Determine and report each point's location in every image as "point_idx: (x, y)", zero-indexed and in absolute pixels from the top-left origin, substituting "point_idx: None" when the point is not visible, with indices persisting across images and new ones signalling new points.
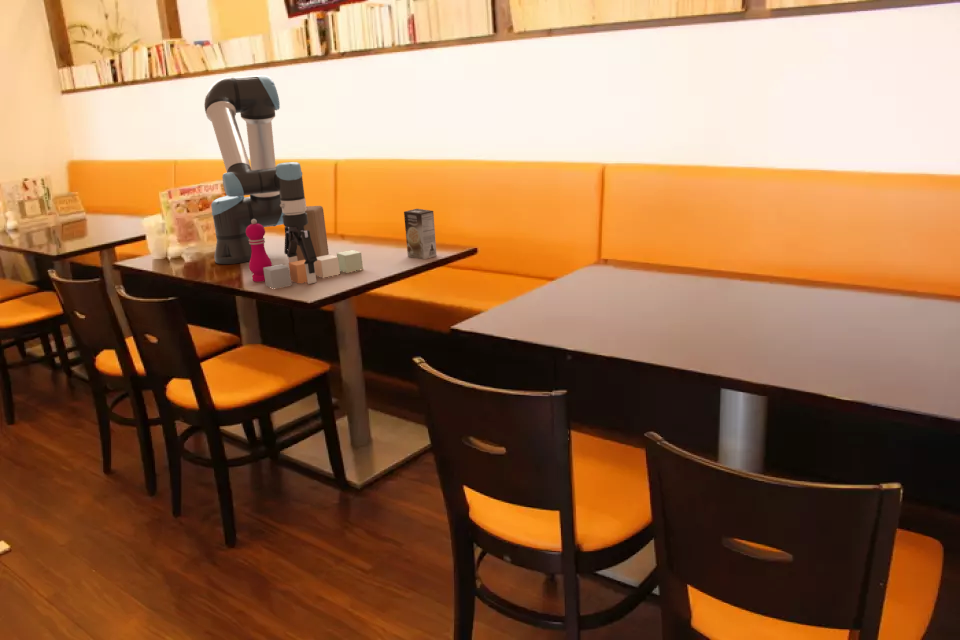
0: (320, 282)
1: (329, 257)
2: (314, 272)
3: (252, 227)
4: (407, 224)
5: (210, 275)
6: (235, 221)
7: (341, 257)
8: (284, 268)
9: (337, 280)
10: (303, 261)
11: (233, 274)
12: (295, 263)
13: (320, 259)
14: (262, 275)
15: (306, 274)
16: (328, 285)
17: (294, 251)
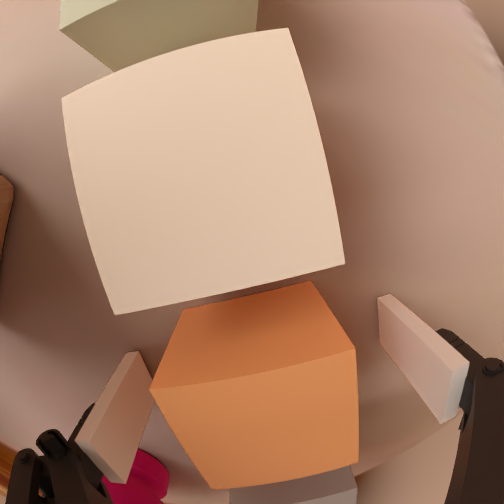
0: (392, 268)
1: (232, 117)
2: (443, 330)
3: None
4: None
5: (40, 492)
6: None
7: (169, 1)
8: (355, 496)
9: (413, 160)
10: (246, 424)
11: None
12: (281, 468)
13: (276, 256)
14: (159, 491)
15: (405, 373)
16: (470, 242)
17: (91, 492)
